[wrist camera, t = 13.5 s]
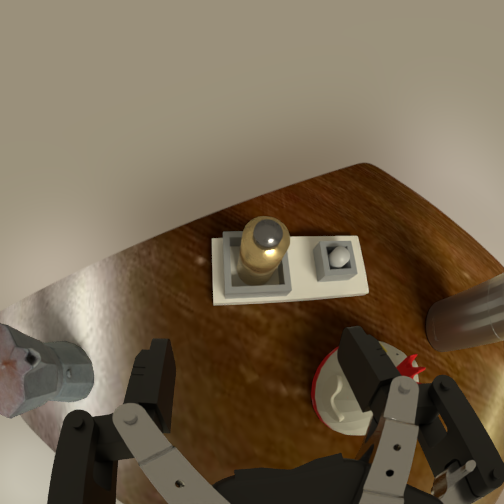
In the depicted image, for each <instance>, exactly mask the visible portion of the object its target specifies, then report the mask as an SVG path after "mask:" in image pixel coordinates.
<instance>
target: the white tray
mask: <svg viewBox="0 0 504 504" xmlns="http://www.w3.org/2000/svg"><path fill="white" fill-rule="evenodd" d="M242 234H243V231H230V232H223V238H212V274H213V304H214V305H236V304H258V303H275V302H291V301H304V300H317V299H329V298H339V297H350V296H359V295H365V294H367V293H369V289H368V284H367V278H366V273H365V268H364V263H363V258H362V253H361V248H360V244H359V240H358V236H298V237H290V245H289V248H288V250H287V252H286V253H285V255H284V257H283V258H282V260H281V262H280V263H279V265H278V267H277V268H276V270H275V272H274V273H273V275H272V277H271V278H270V280H269V281H268V282H267V283H266V284H264V285H261V286H249V285H247V284H245V283H244V282H243V281H242V280H241V279H240V278H239V276H238V273H237V264H238V258H239V252H240V246H241V240H242Z"/></svg>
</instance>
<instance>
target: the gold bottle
mask: <svg viewBox="0 0 504 504" xmlns="http://www.w3.org/2000/svg"><path fill="white" fill-rule="evenodd" d="M289 245H290V235H289V232H288V230H287V228H286V226H285V225H284V224H283V223H282V222H280V221H279V220H277V219H275V218H272V217H268V216H261V217H257V218H254V219H252V220H251V221H250V222H248V224H247V225H246V226H245V228H244V230H243V234H242V240H241V246H240V252H239V258H238V264H237V273H238V276H239V278H240V279H241V280H242V281H243V282H244V283H245V284H247V285H249V286H261V285H264V284H266V283H267V282H268V281H269V280H270V278H271V277H272V275H273V273H274V272H275V270H276V268H277V267H278V265H279V263H280V262H281V260H282V258H283V257H284V255H285V253H286V252H287V250H288V248H289Z"/></svg>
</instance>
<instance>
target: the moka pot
mask: <svg viewBox="0 0 504 504" xmlns="http://www.w3.org/2000/svg"><path fill="white" fill-rule="evenodd" d="M93 384H94V373H93V368H92V364H91V361H90V360H89V358H88V356H87V355H86V353H85V352H84V351H83V350H82V349H81V348H80V347H79V346H77V345H74V344H72V343H69V342H67V341H60V342H48V343H43V342H41V341H39V340H37V339H34V338H32V337H30V336H28V335H26V334H23V333H22V332H20V331H18V330H16V329H14V328H12V327H10V326H8V325H5V324H1V323H0V414H1V415H3V416H5V417H7V418H13V417H15V416H18V415H20V414H23V413H25V412H27V411H29V410H32V409H35V408H37V407H39V406H42V405H44V404H45V403H46V402H47V401H48V400H49V401H61V402H75V401H79V400H81V399H84V398H86V397H87V396H88V394H89V393H90V391H91V389H92V387H93Z"/></svg>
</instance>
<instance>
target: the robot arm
mask: <svg viewBox="0 0 504 504" xmlns="http://www.w3.org/2000/svg"><path fill="white" fill-rule="evenodd" d="M426 333H427V337H428V340H429V342H430V344H431V346H432V347H433V348H434V349H435V350H437V351H440V352H446V351H452V350H459V349H465V348H470V347H475V346H480V345H485V344H490V343H494V342H498V341H502V340H504V273H502V274H500V275H498V276H496V277H494V278H492V279H490V280H488V281H486V282H483V283H481V284H479V285H477V286H474V287H472V288H470V289H468V290H465V291H463V292H460V293H458V294H455V295H453V296H450V297H448V298H445V299H443V300H440V301H438V302H436V303H434V304H433V305H432V306H431V308H430V309H429V312H428V314H427V318H426ZM337 359H338V363H339V365H340V367H341V369H342V371H343V373H344V375H345V377H346V379H347V381H348V383H349V385H350V387H351V389H352V391H353V394H354V396H355V398H356V400H357V402H358V404H359V406H360V408H361V410H362V412H363V413H364V412H368V411H372V413H373V415H372V417H371V419H370V422H369V425H368V428H367V431H366V434H365V437H364V440H363V443H362V446H361V448H360V450H359V452H358V454H357V455H356V457H355V459H346V458H343V457H342V454H341V453H339V454H335V455H331V456H327V457H323V458H318V459H315V460H313V461H311V462H309V463H306V464H304V465H302V466H299V467H297V468H295V469H291V470H285V469H271V468H253V469H240V470H234V473H235V475H233V476H230V477H227V478H224V479H222V480H220V481H218V482H216V483H215V484H213V485H212V486H211V485H210V484H209V483H208V482H207V481H206V480H205V479H204V478H203V477H202V476H201V475H200V474H199V473H198V472H197V471H196V470H195V469H194V467H193V466H192V465H191V464H190V463H189V462H188V461H187V460H186V459H185V458H184V456H183V455H182V454H181V453H180V452H179V451H178V450H177V449H176V448H175V447H174V446H172V445H171V444H170V442H169V441H168V440H167V439H166V438H165V436H164V435H163V433H170V429H171V417H172V406H173V395H174V386H175V377H176V366H175V360H174V356H173V351H172V347H171V342H170V339H152V342H151V346H150V350H141V352H140V353H139V354H138V355H137V356H136V358H135V361H134V365H133V368H132V372H131V376H130V379H129V383H128V387H127V391H126V395H125V399H124V403H123V405H121V406H119V407H118V408H117V409H116V410H115V411H114V413H112V414H109V415H103V416H95V417H92V416H91V415H90V414H89V413H88V412H86V411H84V410H74V411H72V412H70V413H69V414H67V416H66V417H65V419H64V421H63V425H62V429H61V433H60V437H59V441H58V445H57V449H56V454H55V459H54V464H53V469H52V474H51V481H50V487H49V494H48V502H47V504H116V483H117V468H118V460H122V459H129V458H135V459H136V460H137V462H138V463H139V466H140V468H141V469H142V470H143V472H144V473H145V475H146V476H147V477H148V479H149V480H150V481H151V483H152V484H153V485H154V487H155V488H156V489H157V490H158V492H159V493H160V494H161V495H162V497H163V498H164V499H165V500H166V501H167V503H168V504H472V503H474V502H475V501H477V500H479V499H481V498H482V497H484V496H486V495H487V494H489V493H490V492H492V491H494V490H495V489H497V488H498V487H500V486H501V485H502V484H503V482H504V463H503V461H502V459H501V457H500V455H499V453H498V451H497V449H496V448H495V446H494V444H493V442H492V440H491V438H490V437H489V435H488V433H487V431H486V430H485V428H484V426H483V425H482V423H481V421H480V420H479V418H478V416H477V415H476V413H475V411H474V410H473V408H472V407H471V405H470V403H469V402H468V400H467V399H466V397H465V396H464V394H463V393H462V391H461V390H460V388H459V387H458V385H457V384H456V382H455V381H454V380H453V379H452V378H451V377H449V376H446V375H439V376H437V377H436V378H435V379H434V380H433V382H432V383H428V384H417V383H416V381H415V380H413V379H412V378H410V377H407V376H402V375H401V374H400V372H399V371H398V369H397V368H396V366H395V365H394V363H393V362H392V360H391V359H390V357H389V356H388V355H387V353H386V352H385V350H384V349H383V347H382V346H381V344H380V343H379V341H378V340H377V339H375V338H374V337H373V336H371V335H366V333H365V332H364V330H363V329H362V327H360V326H355V327H348V328H344V330H343V333H342V337H341V340H340V344H339V347H338V351H337ZM439 414H440V415H441V417H442V419H443V420H444V422H445V424H446V426H447V429H448V432H446V430H445V428H444V426H443V425H442V423H441V421H440V419H439V417H438V415H439ZM417 439H418V441H419V443H420V445H421V447H422V450H423V452H424V454H425V456H426V458H427V461H428V463H429V465H430V468H431V470H432V472H433V475H434V477H435V479H434V482H433V487H432V488H431V493H432V495H431V494H428V493H426V492H424V491H421V490H419V489H417V488H415V487H412V486H410V485H408V484H406V483H407V480H408V476H409V472H410V469H411V464H412V460H413V456H414V451H415V446H416V441H417ZM433 495H434V496H433Z"/></svg>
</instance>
